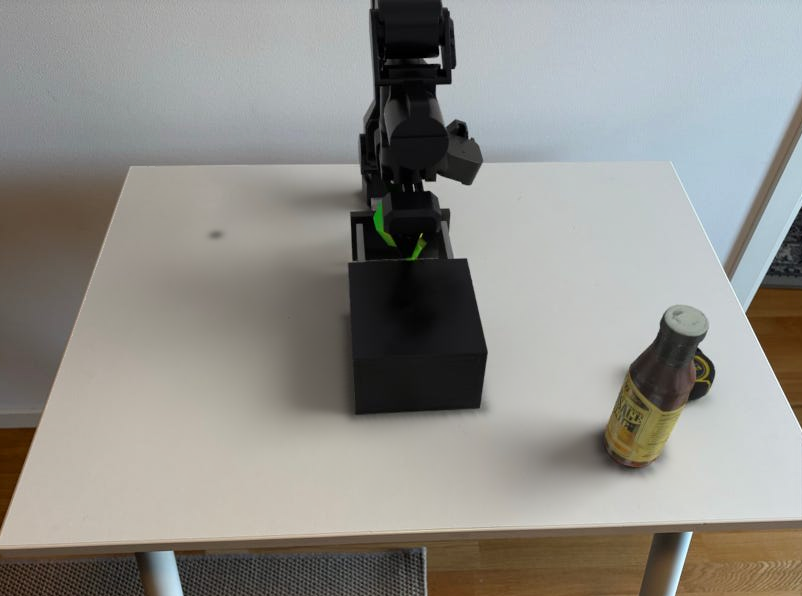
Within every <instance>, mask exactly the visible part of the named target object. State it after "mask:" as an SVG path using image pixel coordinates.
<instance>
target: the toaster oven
mask: <svg viewBox="0 0 802 596" xmlns="http://www.w3.org/2000/svg"><path fill="white" fill-rule="evenodd" d="M429 259H430V260H406V259H402V260H403V261H379V260H375V261H376V262H358V261H351V262H347V274H348V294H349V295H348V298H349V314H350V337H351V356H352V376H353V379H352V381H353V397H354V398H353V399H354V415H356V416H358V415H377V414H394V413H395V414H396V413H411V412H412V413H413V412H432V411H450V410H466V409H467V410H468V409H469V410H470V409H480V408H481V405H482V404H481V403H482V397H483V389H484V383H485V376H486V369H487V363H488V355H489V351H488V350H489V349H488V346H487V342H486V337H485V332H484V327H483V324H482V319H481V315H480V309H479V305H478V302H477V297H476V293H475V287H474V283H473V278H472V275H471V269H470V266H469V261H468V258H467V257H459V258H458V257H457V258H454V259H432V258H429Z"/></svg>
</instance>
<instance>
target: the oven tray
mask: <svg viewBox="0 0 802 596" xmlns="http://www.w3.org/2000/svg"><path fill="white" fill-rule="evenodd" d="M382 199H383V198H371V207H372V210H374V211H371V210H356V211H355V210H352V211H351V210H350V212H349V219H350V221H349V222H350V239H351V240H350V241H351V262H376V261H403V260H406V258H403V257H402V255H401V254H400V252H399V250H398V248H397V247H395V246H390V245H388V244H387V242H386V241H385V240H384V239H383V237H382V236H381V235H380V234H379V232H378V231H377V230H376V226H375V223H374V219H373V217H374V215H375V213H376V210H377V208H378V206H379V204H380V202H381V200H382ZM440 210H441V215H442V217H441V230H440V231H438V232H437V233H423V234H422V236H421V239H423V240H424V241H425V242H426V245H425V247H424V248H422V250H421V254H420V255H419V256H418V257H417V258H416V259H415V260H430V259H455V257H454V252H453V251H454V250H453V246H452V243H451V236H450V228H451V227H450V226H451V209H450V207H447V208H446V207H443V208H441V207H440Z"/></svg>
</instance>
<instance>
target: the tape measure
mask: <svg viewBox="0 0 802 596" xmlns="http://www.w3.org/2000/svg"><path fill="white" fill-rule="evenodd" d="M693 359H694V365H695V368H696V379H695V383H694V386H693V388H692V390H691V391H690V393H689V396H688V400H687V402H692V401H696V400H699V399H701V398H703V397H705V396H706V395H707V394H708V393H709V391H710V389H711V387H712V386H713V383H714V380H715V377H716V367H715V365H714V363H713V361H712V359H710V358H709V357H708V356H707V355H706V354H704V352H703V351H702V349H701V348H700V347H699V346H698V347H697V349H696V351H695V356H694V358H693Z"/></svg>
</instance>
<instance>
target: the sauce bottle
mask: <svg viewBox="0 0 802 596" xmlns="http://www.w3.org/2000/svg"><path fill="white" fill-rule="evenodd" d="M709 328H710V322H709V320H708V317H707V316H706V315H705V313H704V312H702V311H701V310H700V309H698V308H695V307H693V306H691V305H687V304H675V305H671V306H669V307H668V308H666V310H665V311H664V312H663V314H662V316H661V318H660V321H659V328H658V332H657V333H656V336H655V338H654V340H653V341H652V342H651V344H649V345H648V346H647V347H646V348H645V349H644V350H643V351H642V352H641V353H640V355H639V356H637V358H636V359H635V360H633V362H631V363H630V365H629V367H628V369H627V372H626V374H625V376H624V381H623V382H622V385H621V387H620V390H619V392H618V396H617V398H616V401H615V403H614V406H613V408H612V411H611V414H610V416H609V418H608V421H607V424H606V427H605V434H604V439H603V441H604V447H605V450H606V451H607V452H608V454H609V455H610V456H611V458H613V460H614V461H616V462H617V463H618V464H621V465H622V466H628V467H631V468H643V467H647V466H648V465H651V464H652V463H653V462H655V461H656V460H657V459H658V458H659V457H660V455H661V453H662V452H663V449H664V448H665V446H666V444H667V442H668V440H669V438H670V436H671V434H672V432H673V430H674V428H675V426H676V424H677V422H678V420H679V418H680V416H681V414H682V412H683V410H684V408H685V406H686V404H687V402H688V401H687V400H688V396H689V393H690V391H691V390H692V388H693V386H694V383H695V379H696V368H695V365H694V359H693V358H694V356H695V351H696V349H697V347H698V348H699V345H700V344H701V342H703V341H704V339H705V338H706V336H707V333H708V331H709Z"/></svg>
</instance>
